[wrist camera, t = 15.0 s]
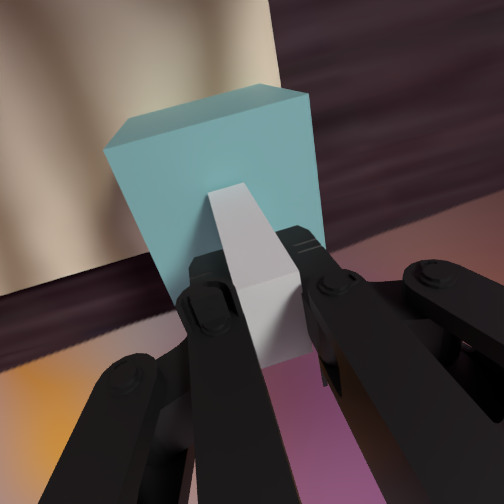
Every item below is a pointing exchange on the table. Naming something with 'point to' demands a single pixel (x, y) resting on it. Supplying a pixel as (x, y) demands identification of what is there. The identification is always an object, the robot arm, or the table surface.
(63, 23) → the base board
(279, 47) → the table surface
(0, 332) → the table surface
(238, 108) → the teal cube
